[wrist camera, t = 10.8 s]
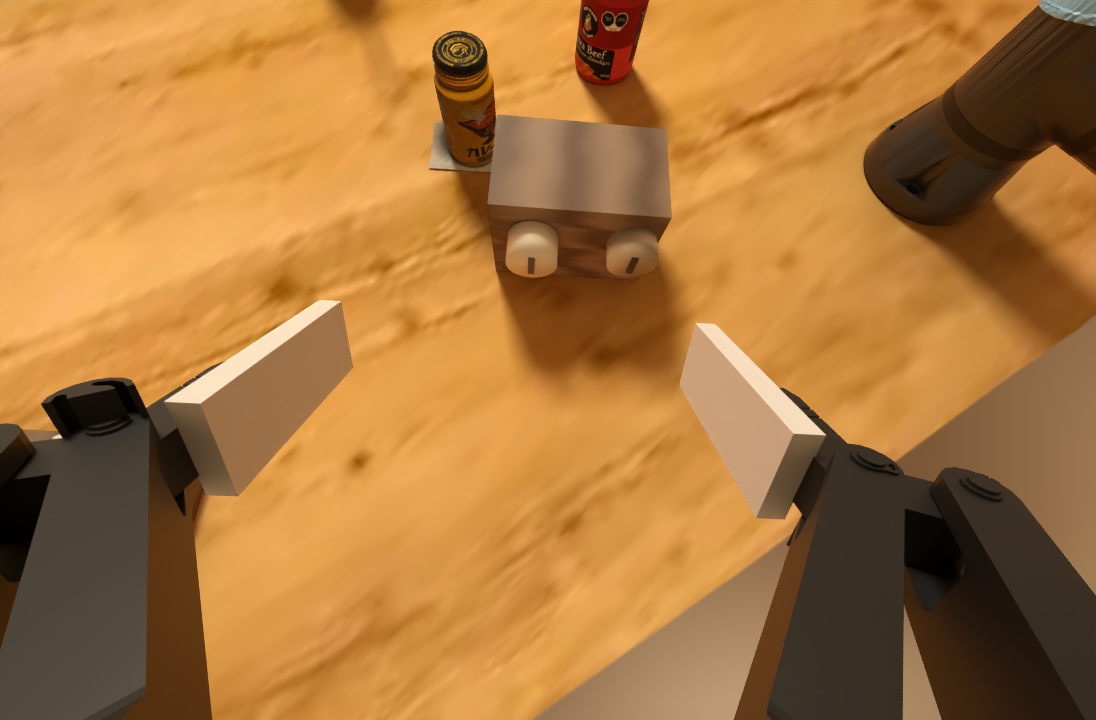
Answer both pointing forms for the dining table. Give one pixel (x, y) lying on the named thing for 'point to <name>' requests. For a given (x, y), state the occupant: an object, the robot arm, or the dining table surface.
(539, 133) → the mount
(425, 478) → the dining table surface
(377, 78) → the dining table surface
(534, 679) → the dining table surface
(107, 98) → the dining table surface
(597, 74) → the canned food
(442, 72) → the condiment
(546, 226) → the knob
